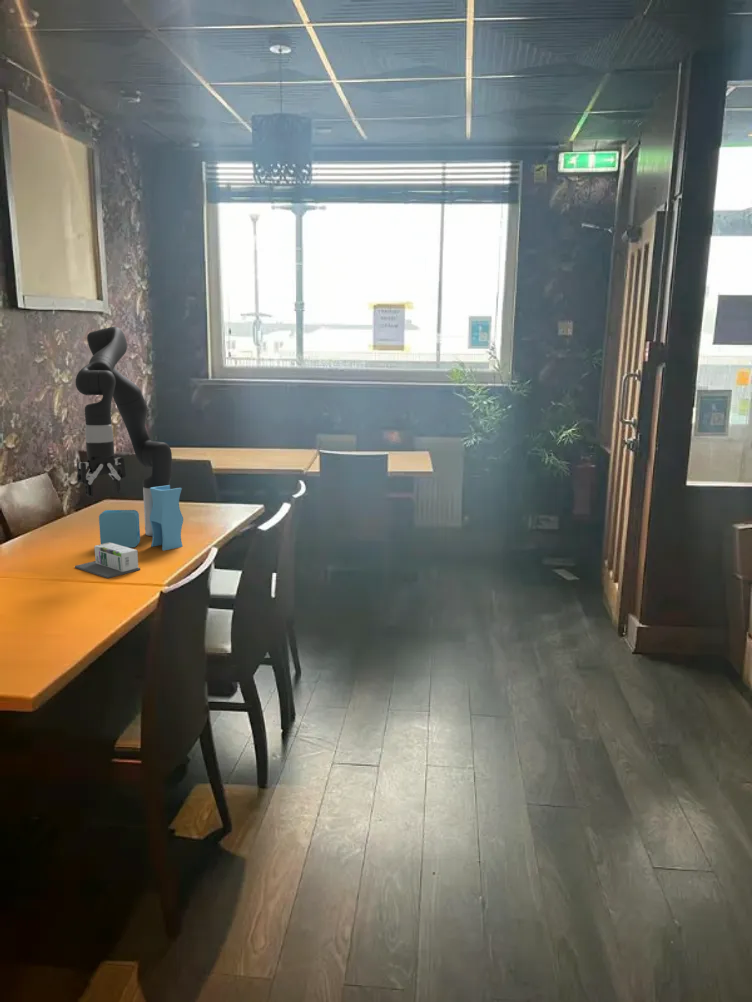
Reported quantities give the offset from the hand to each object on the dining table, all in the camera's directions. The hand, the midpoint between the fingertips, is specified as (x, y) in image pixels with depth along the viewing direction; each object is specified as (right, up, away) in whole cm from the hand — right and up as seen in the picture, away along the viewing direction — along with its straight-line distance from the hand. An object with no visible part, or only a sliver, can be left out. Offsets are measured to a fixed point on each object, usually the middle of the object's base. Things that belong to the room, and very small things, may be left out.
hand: (103, 494), depth 216 cm
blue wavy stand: (+10, -17, +31) cm, 37 cm away
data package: (-5, -17, +31) cm, 36 cm away
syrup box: (+8, -20, +1) cm, 21 cm away
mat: (0, -22, +4) cm, 23 cm away
